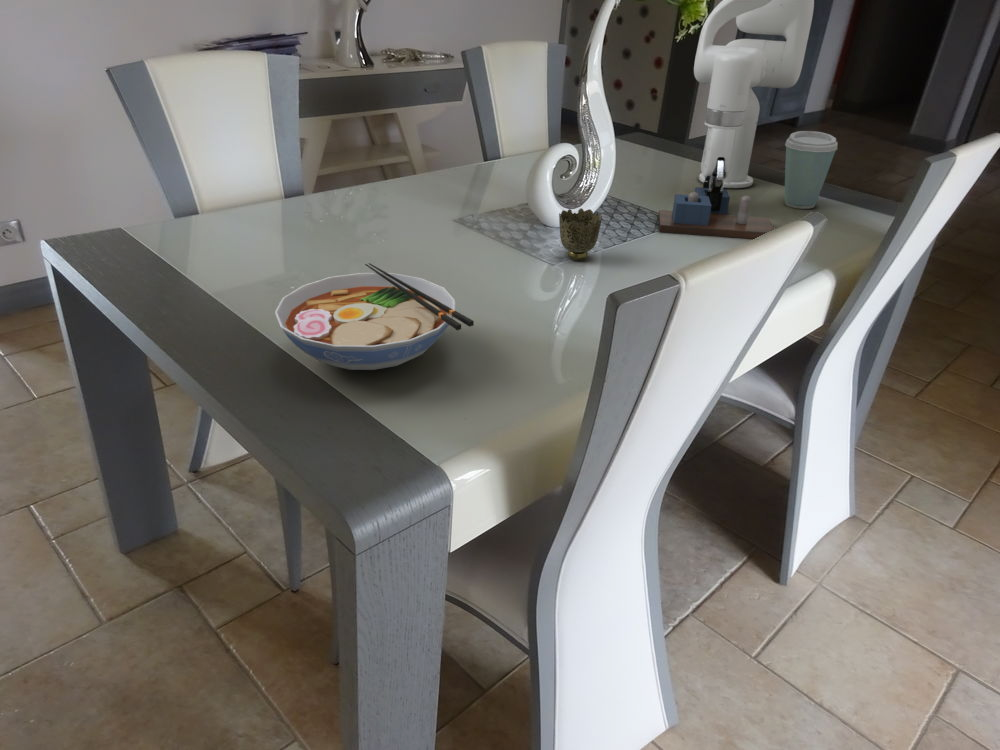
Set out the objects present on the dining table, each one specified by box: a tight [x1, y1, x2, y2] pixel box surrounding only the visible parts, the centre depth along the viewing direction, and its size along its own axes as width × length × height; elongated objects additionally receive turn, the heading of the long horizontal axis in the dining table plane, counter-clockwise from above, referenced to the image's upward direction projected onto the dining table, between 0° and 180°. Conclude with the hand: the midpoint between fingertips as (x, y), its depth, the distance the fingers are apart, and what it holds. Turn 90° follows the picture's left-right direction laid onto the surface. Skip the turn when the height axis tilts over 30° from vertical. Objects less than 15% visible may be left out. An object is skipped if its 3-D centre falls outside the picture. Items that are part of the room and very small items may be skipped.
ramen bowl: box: [274, 262, 475, 371], centre depth 97 cm, size 25×23×8 cm
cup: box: [558, 207, 603, 262], centre depth 130 cm, size 8×7×8 cm
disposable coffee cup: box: [783, 130, 839, 210], centre depth 161 cm, size 11×11×15 cm
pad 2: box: [694, 186, 731, 215], centre depth 158 cm, size 7×7×4 cm
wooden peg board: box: [657, 191, 775, 240], centre depth 147 cm, size 10×22×7 cm, turn 81°
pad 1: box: [672, 193, 711, 226], centre depth 148 cm, size 7×7×4 cm
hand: (710, 204), depth 159 cm, fingers closed on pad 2, 6 cm apart
